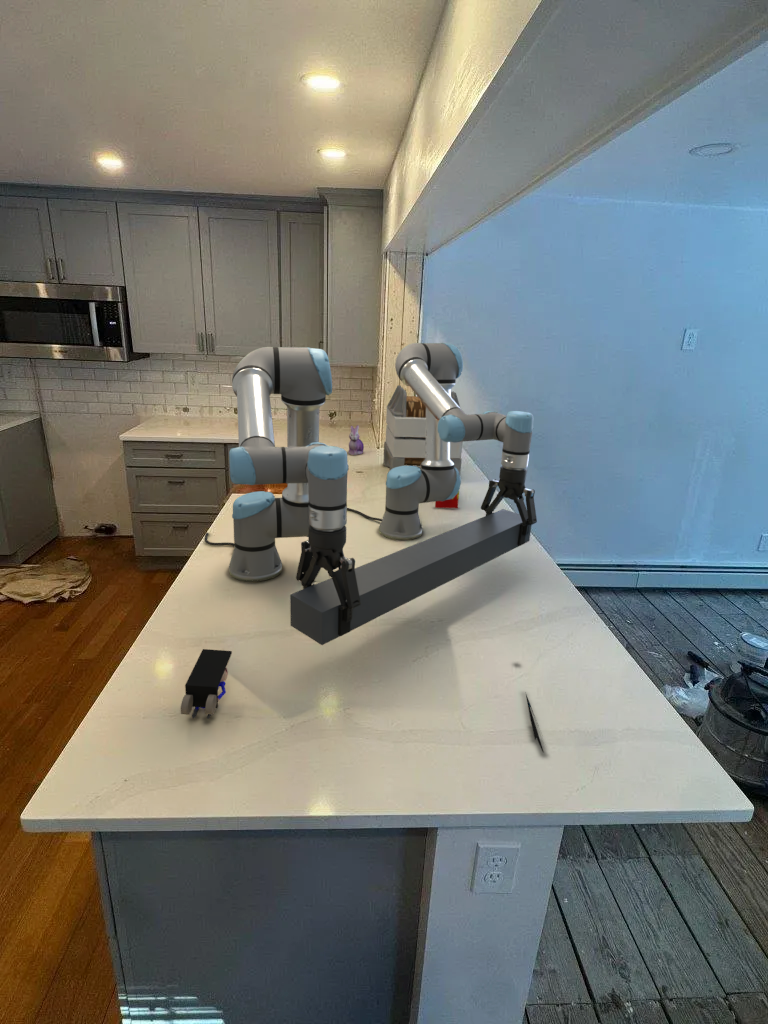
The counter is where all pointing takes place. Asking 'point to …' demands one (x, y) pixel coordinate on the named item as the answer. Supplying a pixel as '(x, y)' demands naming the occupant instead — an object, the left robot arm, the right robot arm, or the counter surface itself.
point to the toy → (448, 503)
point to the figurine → (355, 442)
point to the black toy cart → (206, 682)
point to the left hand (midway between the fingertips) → (326, 622)
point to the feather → (534, 723)
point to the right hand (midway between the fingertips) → (504, 539)
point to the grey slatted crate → (410, 432)
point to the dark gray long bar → (406, 574)
